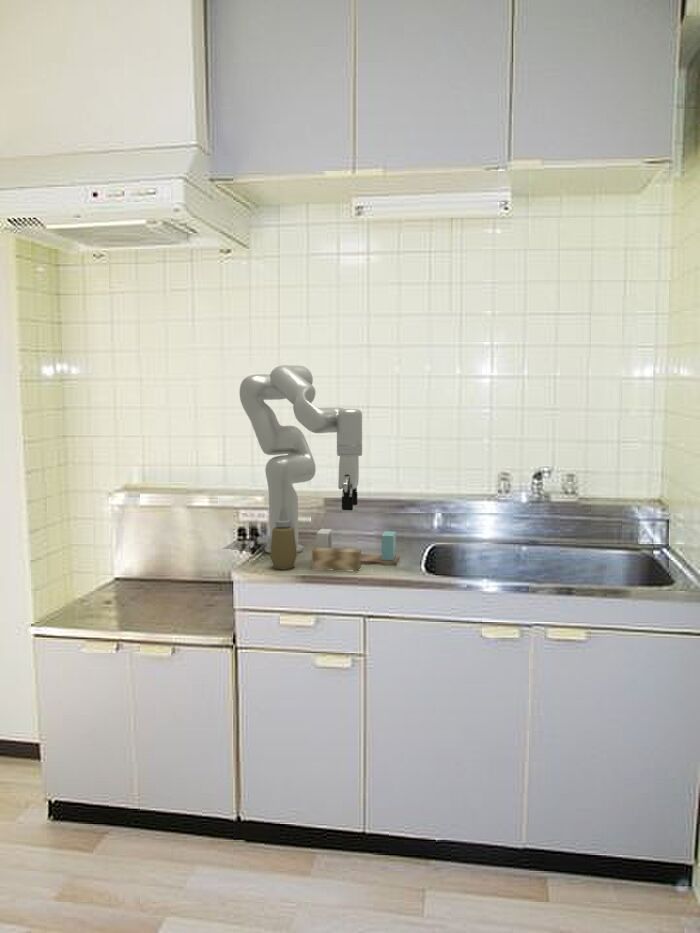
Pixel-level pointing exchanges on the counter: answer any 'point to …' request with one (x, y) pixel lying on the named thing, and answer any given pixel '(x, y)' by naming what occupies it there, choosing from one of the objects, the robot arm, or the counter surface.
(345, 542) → the counter surface
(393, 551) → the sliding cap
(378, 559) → the walnut board
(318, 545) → the grey upright block
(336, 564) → the light wooden block
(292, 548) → the squeeze bottle
